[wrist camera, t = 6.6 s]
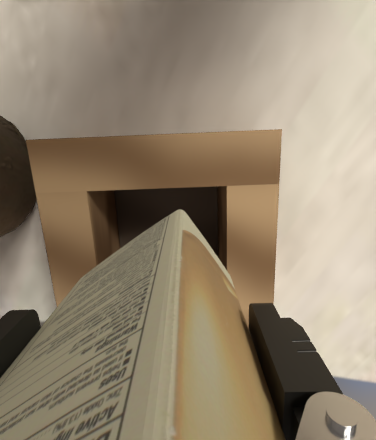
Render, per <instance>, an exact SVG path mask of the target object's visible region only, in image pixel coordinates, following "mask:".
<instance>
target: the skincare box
mask: <svg viewBox="0 0 376 440" xmlns="http://www.w3.org/2000/svg"><path fill="white" fill-rule="evenodd" d="M0 440H286V439H285V436H284V433H283V431H282V428H281V425H280V422H279V419H278V416H277V412H276V409H275V406H274V403H273V401H272V398H271V395H270V392H269V389H268V386H267V383H266V380H265V377H264V374H263V371H262V368H261V365H260V362H259V359H258V356H257V353H256V350H255V347H254V344H253V341H252V338H251V335H250V332H249V330H248V327H247V323H246V321H245V318H244V315H243V312H242V309H241V306H240V303H239V300H238V297H237V294H236V291H235V288H234V285H233V282H232V279H231V276H230V274H229V273H228V272H227V270H226V269H225V267H224V266H223V264H222V263H221V261H220V260H219V258H218V257H217V255H216V254H215V253H214V251H213V249H212V248H211V247H210V245H209V244H208V242H207V241H206V239H205V238H204V237H203V235H202V234H201V233H200V231H199V230H198V228H197V227H196V226H195V224H194V223H193V222H192V220H191V219H190V218H189V216H188V215H187V214H186V212H185V211H183V210H181V209H179V210H177V211H175V212H173V213H172V214H170V215H169V216H167V217H165V218H164V219H162V220H161V221H159V222H158V223H156V224H155V225H153V226H152V227H150V228H149V229H148V230H146V231H144V232H143V233H142V234H140V235H139V236H137V237H136V238H134V239H133V240H132V241H130V242H129V243H127V244H126V245H125V246H123V247H122V248H120V249H119V250H117V251H116V252H115V253H113V254H112V255H111V256H109V257H108V258H106V259H105V260H104V261H102V262H101V263H100V264H98V265H97V266H96V267H94V268H93V269H92V270H91V271H89V272H88V273H87V274H85V275H84V276H83V277H82V278H80V280H79V281H78V282H77V283H76V285H75V286H74V287H73V288H72V290H71V291H70V292H69V293H68V295H67V296H66V297H65V298H64V299H63V301H62V302H61V303H60V304H59V306H58V307H57V308H56V309H55V311H54V312H53V313H52V314H51V316H50V317H49V318H48V319H47V321H46V322H45V323H44V324H43V326H42V327H41V328H40V329H39V331H38V332H37V333H36V334H35V336H34V337H33V338H32V339H31V340H30V342H29V343H28V344H27V346H26V347H25V348H24V349H23V350H22V352H21V353H20V354H19V355H18V357H17V358H16V359H15V360H14V362H13V363H12V364H11V365H10V367H9V368H8V369H7V370H6V372H5V373H4V374H3V375H2V377H1V378H0Z"/></svg>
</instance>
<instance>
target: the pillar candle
mask: <svg viewBox="0 0 376 440" xmlns="http://www.w3.org/2000/svg"><path fill="white" fill-rule="evenodd" d="M35 201H36V192H35V187H34V181H33V176H32V171H31V165H30V160H29V155H28V149H27V144H26V141H25V139H24V137H23V136H22V134H21V133H20V132H19V130H18V129H17V128H16V126H15V125H13V124H12V123H11V122H9V121H7V120H6V119H5V118H3V117H2V116H0V237H1V236H3V235H5V234H7V233H9V232H11V231H13V230H15V229H16V228H17V227H18V226H19V225H20V224H21V223H22V222H23V221H24V220H25V218H26V217H27V216H28V214H29V213H30V211H31V210H32V208H33V206H34V204H35Z"/></svg>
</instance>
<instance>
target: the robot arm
mask: <svg viewBox="0 0 376 440" xmlns="http://www.w3.org/2000/svg"><path fill="white" fill-rule="evenodd" d="M40 328H41V326H40V321H39V317H38V314H37V312H36V311H35V310H11V311H9V312H7V313H6V314H5V315H4V316H3V317H2V318H1V319H0V378H1V377H2V375H3V374H4V373H5V372H6V370H7V369H8V368H9V367H10V365H11V364H12V363H13V362H14V360H15V359H16V358H17V357H18V355H19V354H20V353H21V352H22V350H23V349H24V348H25V347H26V346H27V344H28V343H29V342H30V340H31V339H32V338H33V337H34V336H35V334H36V333H37V332H38V331H39V329H40ZM248 330H249V332H250V335H251V338H252V341H253V344H254V347H255V350H256V353H257V356H258V359H259V362H260V365H261V368H262V371H263V374H264V377H265V380H266V383H267V386H268V389H269V392H270V395H271V398H272V401H273V403H274V406H275V409H276V412H277V416H278V419H279V422H280V425H281V428H282V431H283V433H284V436H285V439H286V440H376V421H375V419H374V418H373V416H372V415H371V414H370V413H369V412H368V410H367V409H365V408H364V407H363V406H362V405H361V404H359V403H358V402H357V401H355V400H353V399H351V398H349V397H347V396H345V395H343V393H342V391H341V390H340V388H339V387H338V385H337V383H336V382H335V380H334V378H333V377H332V375H331V373H330V372H329V370H328V368H327V367H326V365H325V363H324V362H323V360H322V358H321V357H320V355H319V354H318V353H317V352H316V349H315V347H314V345H313V344H312V342H310V339H309V337H308V335H307V334H306V332H305V330H304V329H303V327H301V326H300V325H299V324H298V323H296V322H295V321H294V320H292V319H291V318H280V316H279V314H278V312H277V310H276V308H275V306H274V305H273V303H250V305H249V327H248Z"/></svg>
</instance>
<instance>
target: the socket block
mask: <svg viewBox="0 0 376 440" xmlns="http://www.w3.org/2000/svg"><path fill="white" fill-rule="evenodd" d="M281 135H282V129H279V130H255V131H230V132H206V133H182V134H157V135H133V136H109V137H85V138H60V139H36V140H26V144H27V149H28V155H29V160H30V165H31V171H32V176H33V181H34V187H35V192H36V198H37V203H38V208H39V214H40V219H41V224H42V230H43V235H44V240H45V246H46V251H47V257H48V262H49V267H50V273H51V278H52V283H53V289H54V294H55V300H56V305H57V307H58V306H59V304H60V303H61V302H62V301H63V299H64V298H65V297H66V296H67V295H68V293H69V292H70V291H71V290H72V288H73V287H74V286H75V285H76V283H77V282H78V281H79V280H80V278H82V277H83V276H84V275H85V274H87V273H88V272H89V271H91V270H92V269H93V268H94V267H96V266H97V265H98V264H100V263H101V262H102V261H104V260H105V259H106V258H108V257H109V256H111V255H112V254H113V253H115V252H116V251H117V250H119V249H120V248H122V247H123V246H125V245H126V244H127V243H129V242H130V241H132V240H133V239H134V238H136V237H137V236H139V235H140V234H142V233H143V232H144V231H146V230H148V229H149V228H150V227H152V226H153V225H155V224H156V223H158V222H159V221H161V220H162V219H164V218H165V217H167V216H169V215H170V214H172V213H173V212H175V211H177V210H179V209H181V210H183V211H185V212H186V214H187V215H188V216H189V218H190V219H191V220H192V222H193V223H194V224H195V226H196V227H197V228H198V230H199V231H200V233H201V234H202V235H203V237H204V238H205V239H206V241H207V242H208V244H209V245H210V247H211V248H212V249H213V251H214V253H215V254H216V255H217V257H218V240H219V260H220V261H221V263H222V264H223V266H224V267H225V269H226V270H227V272H228V273H229V274H230V276H231V279H232V282H233V285H234V288H235V291H236V294H237V297H238V300H239V303H240V306H241V309H242V312H243V315H244V318H245V321H246V323H247V327H249V305H250V303H273V302H274V281H275V260H276V239H277V218H278V197H279V177H280V156H281ZM217 186H218V188H217Z"/></svg>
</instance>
